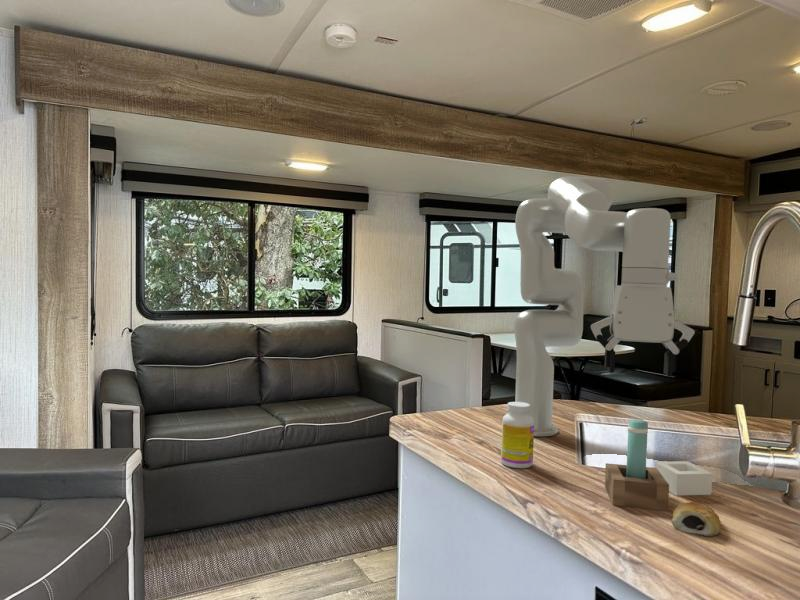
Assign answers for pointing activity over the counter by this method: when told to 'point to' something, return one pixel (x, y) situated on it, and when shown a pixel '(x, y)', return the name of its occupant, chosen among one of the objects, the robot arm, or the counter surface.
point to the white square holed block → (685, 478)
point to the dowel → (637, 448)
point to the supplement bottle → (517, 436)
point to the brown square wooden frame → (636, 488)
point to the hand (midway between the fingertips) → (638, 373)
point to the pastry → (696, 519)
